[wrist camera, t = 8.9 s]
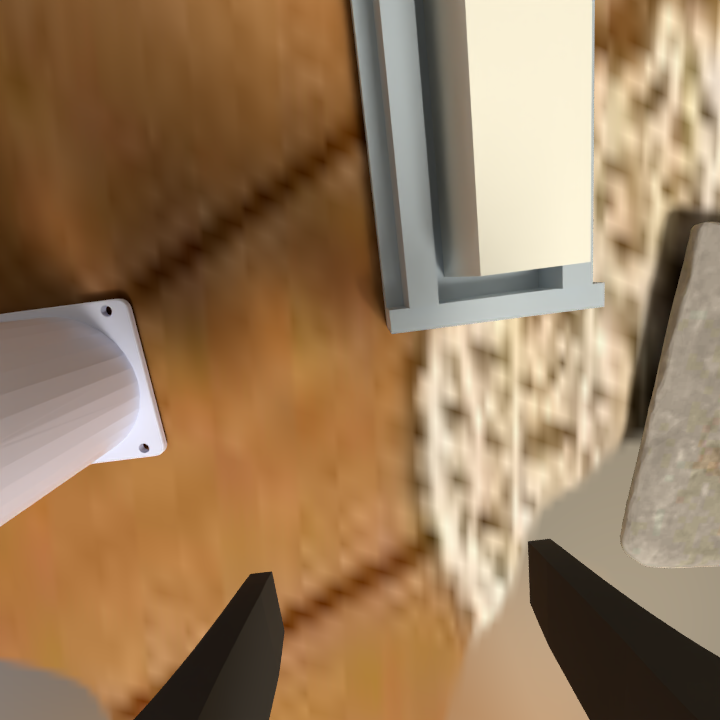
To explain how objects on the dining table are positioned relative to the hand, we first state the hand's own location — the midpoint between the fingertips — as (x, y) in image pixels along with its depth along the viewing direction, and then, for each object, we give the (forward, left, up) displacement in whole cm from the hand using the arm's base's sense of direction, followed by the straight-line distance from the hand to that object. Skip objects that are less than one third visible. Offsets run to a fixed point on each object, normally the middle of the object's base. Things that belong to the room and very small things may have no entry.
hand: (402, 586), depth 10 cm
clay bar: (+6, +14, -8) cm, 17 cm away
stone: (+18, 0, -10) cm, 20 cm away
